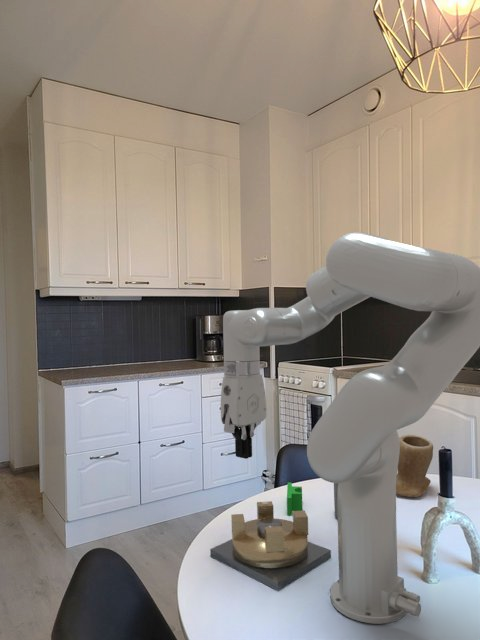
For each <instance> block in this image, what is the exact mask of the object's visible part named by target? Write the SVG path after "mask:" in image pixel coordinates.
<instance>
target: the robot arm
mask: <svg viewBox="0 0 480 640" xmlns="http://www.w3.org/2000/svg"><path fill="white" fill-rule="evenodd" d="M305 290H306V294H307V296H306V297H305V298H303V299H302V300H299V301H298V302H297V303H294V304H293V305H291V306H288V307H256V308H252V309H244V310H243V309H242V310H241V309H237V310H228V311H226V312H225V313H224V314H223V317H222V331H223V333H222V335H223V336H222V338H223V368H222V371H223V377H222V384H221V390H220V391H221V393H220V421H221V423H222V424H223V432H224V433H229V434H232V437H233V439H234V441H235V446H234V448H235V452H234V453H235V457H237V458H241V459H245V460H247V459H249V458H252V457H253V439H252V438H254V434H255V430H256V428H257V427H258V426H259V425H261V423H262V422H263V421H265V420H266V418H267V400H266V398H267V397H266V389H265V384H264V379H263V374H262V373H261V363H260V362H261V361H260V360H261V359H260V358H261V357H260V355H261V354H260V351H261V350H260V347H272V346H280V345H282V346H283V345H292V344H296V343H298V342H300V341H303V340H304V339H306V338H308V337H310V336H312V335H314V334H316V333H318V332H320V331H321V330H323V329H324V328H326V327H327V326H328V325H329V324H330V323H331V322H332V321H333V320H334V319H335V317H336V316H337V315H339V314H341V313H343V312H344V311H346V310H348V309H350V308H352V307H353V306H355V305H358V304H360V303H361V302H363V301H365V300H367V299H369V298H371V297H372V298H373V299H377V300H380V301H383V302H385V303H386V302H387V303H389V304H392V305H395V306H399V307H401V308H404V309H408V310H412V311H416V312H431V313H430V315H429V316H428V318H427V319H426V320H425V321H424V322H423V323H422V324H421V325H420V326H419V327H418V328H417V329H416V330H415V331H414V332H413V333H412V334H411V335H410V337H409V338H408V339H407V341H406V342H405V344H404V346H402V347H401V349H400V350H399V351H398V352H397V354H396V355H395V356H394V357H393V358H392V359H391V360H390V361H389V362H388V363H387V364H383V365H382V366H375V367H372V368H371V367H370V368H367V369H365V370H362V371H359V372H358V373H356V374H355V375H353V376H352V377H351V378H350V379H349V380H348V381H346V383H345V384H344V385H343V386H342V388H341V389H340V390H339V391H338V393H337V394H336V396H335V397H334V398H333V400H332V401H331V403H330V404H329V406H327V407H326V410H325V411H324V412H323V413H322V415H321V416H320V417H319V419H318V420H317V422H316V424H315V425H314V427H313V428H312V429H311V431H310V433H309V435H308V439H307V445H306V456H307V460H308V461H307V462H308V463H309V466H310V468H311V470H312V471H313V472H314V473H315V474H316V475H317V476H318V478H320V479H322V480H323V481H326V482H328V483H333V484H334V483H338V492H337V512H338V520H337V541H338V542H337V545H338V546H337V547H338V551H337V552H338V579H336V580H335V582H333V583H332V585H331V587H330V589H329V596H330V597H329V599H330V602H331V604H332V606H333V607H334V608H335V609H336V610H337V611H338V612H340V613H341V614H342V615H344V616H345V617H347V618H350V619H352V620H354V621H358V622H361V623H365V624H375V625H377V624H378V625H379V624H380V625H381V624H389V623H393V622H396V621H398V620H400V619H402V618H403V617H405V615H406V614H408V615H411V616H413V617H416V618H418V617H419V616H420V615H421V612H422V605H421V603H420V602H421V596H420V595H419V594H416V593H414V592H412V591H411V592H410V591H408V590H407V589H406V588H405V579H404V578H403V577H401V576H399V575H398V574H399V572H398V570H399V569H398V536H397V535H398V534H397V532H398V531H397V494H396V478H397V473H398V462H399V453H400V441H399V438H400V436H399V433H398V430H400V429H402V428H405V427H408V426H411V425H412V424H415V423H416V422H418V421H420V420H421V419H422V418H423V417H424V416H425V415H426V414H427V412H429V410H430V408H431V407H432V406H433V405H434V404H435V402H436V401H437V400H438V399H439V397H440V396H441V395H442V394H443V392H444V391H445V390H446V389H447V388H448V387H449V386H450V384H452V382H453V381H454V379H455V377H457V375H458V374H459V373H460V372H461V370H462V369H463V368H464V367H465V365H466V364H468V362H469V361H470V359H471V358H472V357H473V356H474V354H475V353H476V352H477V351H478V350H479V349H480V266H479V265H478V264H476V263H475V262H474V261H472V260H471V259H469V258H467V257H464V256H462V255H458V254H455V253H452V252H451V253H450V252H444V251H440V250H437V249H431V248H427V247H423V246H417V245H411V244H409V243H403V242H400V241H399V242H398V241H394V240H390V239H389V238H387V237H383V236H379V235H375V234H371V233H365V232H360V231H354V232H349V233H345V234H344V235H342V236H340V237H339V238H337V239H336V240H335V241H334V242H333V243H332V245H330V247H329V249H328V251H327V255H326V258H325V266H323V267H321V268H319V269H318V270H316V271H315V272H313V273H311V274H310V275H309V276H308V277H307V280H306V283H305Z"/></svg>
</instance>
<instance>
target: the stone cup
mask: <svg viewBox="0 0 480 640" xmlns="http://www.w3.org/2000/svg"><path fill="white" fill-rule="evenodd" d="M399 441H400V453H399V462H398V469H397V478H396V495H398V496H403V497H404V496H405V497H410V498H411V497H413V498H417V497H420V496H422V495H423V494H424V493H425V492H426V491H427V490H428V488H429V486H430V484H431V483H432V481H431V479H429V478H428V477H427V473H428V470H429V469H430V465H431V463H432V460H433V456H434V445H433V442H431V441H430V440H428V439H427V438H425V437H422V436H420V435H416V434H415V435H414V434H404V435H402V436H399Z"/></svg>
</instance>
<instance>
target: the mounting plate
mask: <svg viewBox="0 0 480 640" xmlns="http://www.w3.org/2000/svg"><path fill="white" fill-rule="evenodd" d="M209 551H210V552H209V553H210V556H209V557H210V558H212V559H214V560H216V561H218V562H220V563H222V564H224V565H226V566H228V567H230V568H232V569H234V570H236V571H237V572H239V573H242V574H243V575H245V576H247V577H249V578H252V579H254V580H255V581H258V582H259V583H261V584H263V585H265V586H267V587H269V588H272V589H274V590H275V591H277V592H279V591H280V590H282V589H284V588H285V587H288V586H289V585H290V584H291V583H294V582H295V581H297V580H298V579H300V578H301V577H304V575H307V574H308V573H309V572H311V571H313V570H314V569H316V568H317V567H319V566H321V565H322V564H324V563H325V562H327V561H328V560H330V559H331V558H332V555H331V554H332V552H331V551H332V550H331V549H328V548H325V547H323V546H320V545H319V544H317V543H316V544H315V543H314V542H311V541H308V552H307V555H306V557H305V558H304V559H303V560H301V561H300V562H298V563H296V564H293V565H290V566H286V567H281V568H261V567H255V566H251V565H248V564H245V563H243V562H241V561H240V560H238V559H237V558H236V557H235V556H234V554H233V544H232V539H229V540H227V541H225V542H223V543H221V544H219V545H216V546H214V547H212V548H209Z"/></svg>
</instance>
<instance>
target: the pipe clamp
mask: <svg viewBox="0 0 480 640" xmlns="http://www.w3.org/2000/svg"><path fill="white" fill-rule="evenodd" d="M286 487H287V488H286V489H287V490H286V513H287V514H286V515H287V516H288V517H289V516H290V517H293V511H304V510H303V486H293V482H287V486H286Z"/></svg>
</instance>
